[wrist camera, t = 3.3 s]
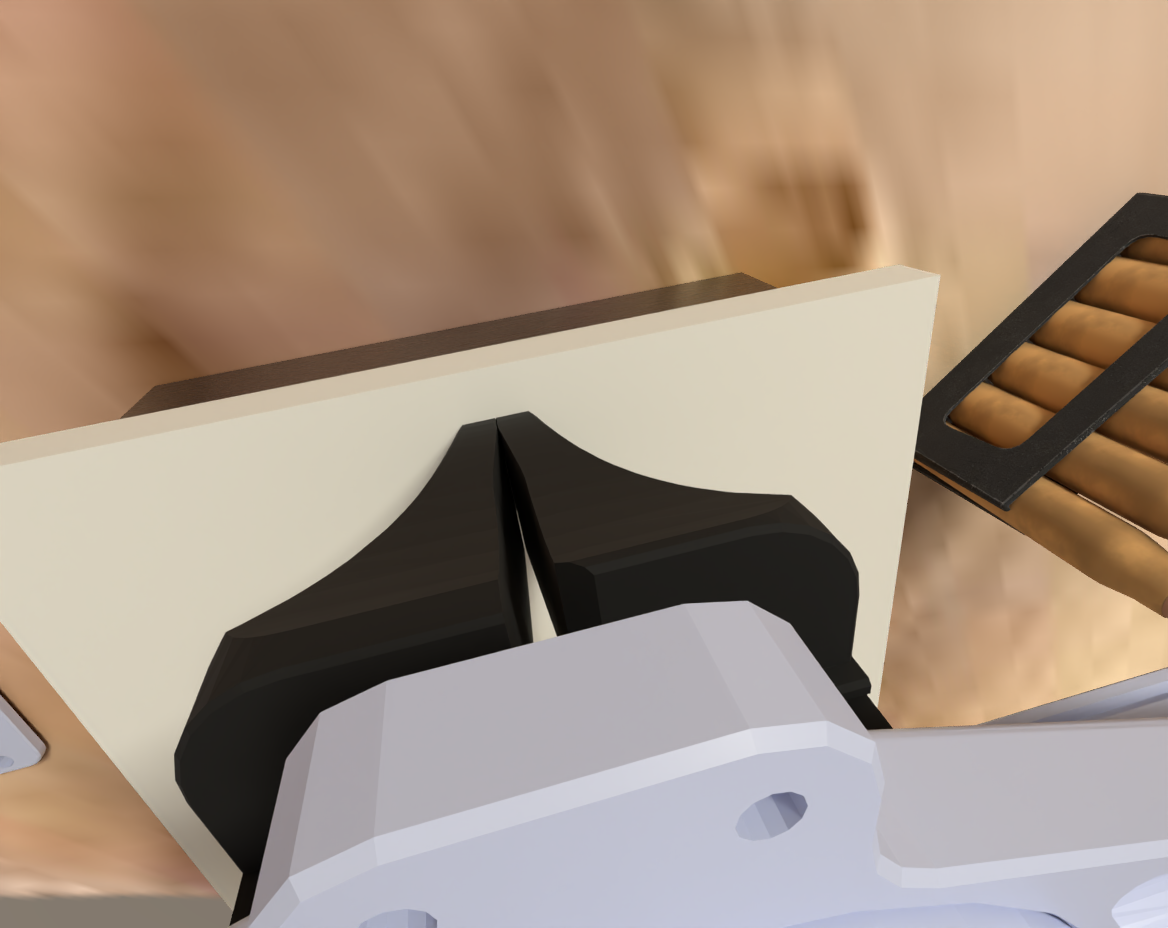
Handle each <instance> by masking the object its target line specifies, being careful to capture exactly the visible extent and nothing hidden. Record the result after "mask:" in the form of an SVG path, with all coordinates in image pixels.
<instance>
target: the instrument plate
mask: <svg viewBox="0 0 1168 928" xmlns="http://www.w3.org/2000/svg"><path fill="white" fill-rule="evenodd" d="M939 282H940V275H938V274H935V273H931V272H927V271H923V270H919V269H915V268H911V267H907V266H903V265H894V266H889V267H884V268H879V269H874V270H869V271H864V272H859V273H854V274H849V275H843V276H838V277H833V278H828V279H823V280H818V281H813V282H808V283H803V284H798V285H793V286H788V287H783V288H778V289H773V290H768V291H763V292H758V293H753V294H748V295H743V296H738V297H733V298H728V299H723V300H718V301H713V302H708V303H703V304H698V305H692V306H687V307H682V308H677V309H672V310H667V311H662V312H657V313H652V314H647V315H642V316H637V317H632V318H627V319H622V320H617V321H612V322H607V323H602V324H597V325H592V326H587V327H582V328H577V329H572V330H567V331H562V332H557V333H552V334H547V335H542V336H536V337H531V338H526V339H521V340H516V341H511V342H506V343H501V344H496V345H491V346H486V347H481V348H476V349H471V350H466V351H461V352H456V353H451V354H446V355H441V356H436V357H431V358H426V359H421V360H416V361H411V362H406V363H401V364H396V365H391V366H386V367H380V368H375V369H370V370H365V371H360V372H355V373H350V374H345V375H340V376H335V377H330V378H325V379H320V380H315V381H310V382H305V383H300V384H295V385H290V386H285V387H280V388H275V389H270V390H265V391H260V392H255V393H250V394H245V395H240V396H235V397H229V398H224V399H219V400H214V401H209V402H204V403H199V404H194V405H189V406H184V407H179V408H174V409H169V410H164V411H159V412H154V413H149V414H144V415H139V416H134V417H129V418H124V419H119V420H114V421H109V422H104V423H99V424H94V425H89V426H84V427H79V428H73V429H68V430H63V431H58V432H53V433H48V434H43V435H38V436H33V437H28V438H23V439H18V440H13V441H8V442H3V443H0V622H1V623H2V624H3V625H4V627H5V628H6V629H7V630H8V632H9V633H10V634H11V635H12V637H13V638H14V639H15V640H16V642H17V643H18V644H19V645H20V647H21V648H22V649H23V650H24V652H25V653H26V654H27V655H28V657H29V658H30V659H31V660H32V662H33V663H34V664H35V665H36V667H37V668H38V669H39V670H40V672H41V673H42V674H43V675H44V677H45V678H46V679H47V680H48V682H49V683H50V684H51V685H52V687H53V688H54V689H55V690H56V692H57V693H58V694H59V695H60V697H61V698H62V699H63V700H64V702H65V703H66V704H67V705H68V707H69V708H70V709H71V710H72V712H73V713H74V714H75V715H76V717H77V718H78V719H79V720H80V722H81V723H82V724H83V725H84V727H85V728H86V729H87V730H88V732H89V733H90V734H91V735H92V737H93V738H94V739H95V740H96V742H97V743H98V744H99V745H100V747H101V748H102V749H103V750H104V752H105V753H106V754H107V755H108V757H109V758H110V759H111V760H112V762H113V763H114V764H115V765H116V767H117V768H118V769H119V770H120V772H121V773H122V774H123V775H124V777H125V778H126V779H127V780H128V782H129V783H130V784H131V785H132V787H133V788H134V789H135V790H136V792H137V793H138V794H139V795H140V797H141V798H142V799H143V800H144V801H145V803H146V804H147V805H148V806H149V808H150V809H151V810H152V811H153V813H154V814H155V815H156V816H157V818H158V819H159V820H160V821H161V823H162V824H163V825H164V826H165V828H166V829H167V830H168V831H169V833H170V834H171V835H172V836H173V838H174V839H175V840H176V841H177V843H178V844H179V845H180V846H181V848H182V849H183V850H184V851H185V853H186V854H187V855H188V856H189V858H190V859H191V860H192V861H193V863H194V864H195V865H196V866H197V868H198V869H199V870H200V871H201V873H202V874H203V875H204V876H205V878H206V879H207V880H208V881H209V883H210V884H211V885H212V886H213V888H214V889H215V890H216V891H217V893H218V894H219V895H220V896H221V898H222V899H223V900H224V901H225V903H226V904H227V905H228V906H229V908H230V909H231V910H232V911H233V910H234V906H235V902H236V898H237V894H238V890H239V886H240V882H241V878H242V874H243V873H242V872H241V871H240V869H239V868H238V867H237V866H236V864H235V863H234V862H233V861H232V859H231V858H230V857H229V856H228V854H227V853H226V852H225V851H224V849H223V848H222V847H221V845H220V844H219V843H218V842H217V840H216V839H215V838H214V837H213V835H212V834H211V833H210V832H209V830H208V829H207V828H206V827H205V825H204V824H203V823H202V821H201V820H200V819H199V818H198V816H197V815H196V814H195V813H194V811H193V810H192V809H191V808H190V806H189V805H188V804H187V802H186V800H185V798H184V796H183V794H182V792H181V790H180V789H179V787H178V785H177V783H176V781H175V768H174V753H175V750H176V748H177V745H178V743H179V740H180V738H181V735H182V733H183V730H184V728H185V725H186V723H187V720H188V718H189V715H190V713H191V710H192V708H193V705H194V703H195V700H196V697H197V695H198V692H199V690H200V687H201V685H202V682H203V680H204V677H205V675H206V672H207V669H208V667H209V665H210V663H211V661H212V659H213V657H214V655H215V652H216V650H217V648H218V646H219V644H220V642H221V640H222V638H223V636H224V634H225V632H227V631H229V630H231V629H233V628H235V627H237V626H239V625H241V624H243V623H245V622H247V621H249V620H250V619H252V618H254V617H256V616H258V615H260V614H262V613H264V612H265V611H267V610H269V609H271V608H273V607H275V606H277V605H279V604H281V603H282V602H284V601H286V600H288V599H290V598H291V597H293V596H295V595H297V594H298V593H300V592H302V591H303V590H305V589H307V588H308V587H310V586H311V585H313V584H314V583H316V582H317V581H319V580H321V579H322V578H324V577H325V576H327V575H328V574H330V573H331V572H333V571H334V570H335V569H337V568H338V567H340V566H341V565H343V564H344V563H345V562H347V561H348V560H350V559H351V558H352V557H353V556H355V555H356V554H357V553H358V552H359V551H361V550H362V549H363V548H364V547H365V546H367V545H368V544H369V543H370V542H372V541H373V540H374V539H375V538H376V537H378V536H379V535H380V534H381V533H382V532H384V531H385V530H386V529H387V528H388V527H389V526H390V525H391V524H392V523H393V522H394V521H395V520H396V519H397V518H398V517H399V516H400V515H401V514H402V513H403V512H404V511H405V510H406V509H407V507H408V506H409V505H410V504H411V503H412V502H413V501H414V500H415V498H416V497H417V496H418V495H419V493H420V492H421V491H422V489H423V488H424V487H425V485H426V484H427V483H428V481H429V480H430V478H431V477H432V475H433V474H434V472H435V471H436V469H437V467H438V466H439V464H440V463H441V461H442V459H443V458H444V456H445V454H446V453H447V451H448V449H449V447H450V446H451V444H452V442H453V440H454V438H455V436H456V434H457V432H458V431H459V429H460V428H461V426H462V425H465V424H469V423H474V422H479V421H483V420H488V419H493V418H495V420H496V425H497V429H498V424H497V419H496V418H497V417H502V416H507V415H511V414H516V413H521V412H525V411H529V412H531V413H532V414H534V415H535V416H537V417H538V418H539V419H540V420H541V421H543V422H544V423H545V424H546V425H548V426H549V427H550V428H552V429H553V430H554V431H555V432H557V433H558V434H560V435H561V436H562V437H564V438H565V439H567V440H568V441H570V442H572V443H573V444H575V445H576V446H578V447H579V448H581V449H583V450H585V451H587V452H589V453H591V454H592V455H594V456H596V457H598V458H600V459H602V460H604V461H607V462H609V463H611V464H614V465H616V466H619V467H621V468H624V469H627V470H629V471H632V472H634V473H637V474H641V475H644V476H647V477H651V478H654V479H658V480H662V481H666V482H670V483H674V484H679V485H684V486H690V487H695V488H702V489H709V490H717V491H725V492H734V493H758V494H783V495H792V496H793V497H794V498H795V499H797V500H798V501H799V502H800V503H801V504H803V505H804V506H805V507H806V508H807V509H808V510H809V511H810V512H812V513H813V514H814V515H815V516H816V517H817V518H818V519H819V520H820V521H821V522H822V523H823V524H824V525H825V526H826V527H827V528H828V529H829V531H830V532H831V533H832V534H833V535H834V536H835V537H836V538H837V539H838V540H839V541H840V542H841V543H842V544H843V545H844V546H845V547H846V548H847V549H848V551H849V552H850V553H851V555H852V558H853V560H854V562H855V565H856V567H857V569H858V572H859V594H860V595H859V603H858V611H857V619H856V627H855V635H854V642H853V650H852V657H853V658H854V659H855V661H856V662H857V663H858V664H859V666H860V667H861V668H862V669H863V671H864V672H865V673H866V674H867V676H868V677H869V680H870V682H871V685H872V687H871V693H870V694H867V696H868V697H869V698H870V699H871V701H872V702H873V703H874V705H875V706H876V707H878V700H879V693H880V686H881V679H882V673H883V666H884V659H885V652H886V645H887V638H888V631H889V625H890V618H891V611H892V604H893V597H894V590H895V583H896V577H897V570H898V563H899V556H900V549H901V542H902V536H903V529H904V522H905V515H906V508H907V501H908V494H909V488H910V481H911V474H912V467H913V460H914V453H915V446H916V440H917V433H918V426H919V419H920V412H921V405H922V398H923V392H924V385H925V378H926V371H927V364H928V357H929V350H930V344H931V337H932V330H933V323H934V316H935V309H936V302H937V296H938V289H939ZM498 434H499V438H500V433H499V429H498ZM500 442H501V438H500ZM501 447H502V451H503V446H502V442H501ZM503 455H504V451H503ZM504 460H505V455H504ZM505 464H506V460H505ZM506 469H507V473H508V468H507V464H506ZM508 477H509V473H508ZM509 482H510V477H509ZM510 486H511V482H510ZM511 491H512V495H513V490H512V486H511ZM513 499H514V495H513ZM514 504H515V499H514ZM515 508H516V504H515ZM516 512H517V508H516ZM517 517H518V512H517ZM518 522H519V526H520V521H519V517H518ZM520 531H521V535H522V540H523V544H524V549H525V558H526V568H527V579H528V589H529V600H530V611H531V621H532V632H533V643H534V642H538V641H542V640H546V639H550V638H554V637H557V635H556V633H555V630H554V627H553V624H552V621H551V619H550V616H549V613H548V610H547V607H546V604H545V602H544V599H543V596H542V593H541V590H540V588H539V585H538V582H537V579H536V576H535V574H534V571H533V568H532V565H531V562H530V560H529V557H528V554H527V551H526V548H525V543H524V539H523V534H522V530H521V526H520Z"/></svg>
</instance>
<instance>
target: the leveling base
mask: <svg viewBox="0 0 1168 928" xmlns="http://www.w3.org/2000/svg"><path fill="white" fill-rule="evenodd" d="M773 289H778V288H776V287H774V286H771V285H769V284H767V283H765V282H762V281H760V280H758V279H756V278H753V277H751V276H749V275H746V274H744V273H737V274H732V275H727V276H721V277H716V278H711V279H706V280H701V281H696V282H690V283H685V284H680V285H675V286H670V287H665V288H659V289H654V290H649V291H644V292H639V293H634V294H628V295H623V296H618V297H613V298H608V299H603V300H597V301H592V302H587V303H582V304H577V305H572V306H566V307H561V308H556V309H551V310H546V311H541V312H535V313H530V314H525V315H520V316H515V317H510V318H504V319H499V320H494V321H489V322H484V323H479V324H473V325H468V326H463V327H458V328H453V329H448V330H442V331H437V332H432V333H427V334H422V335H417V336H411V337H406V338H401V339H396V340H391V341H385V342H380V343H375V344H370V345H365V346H360V347H354V348H349V349H344V350H339V351H334V352H329V353H323V354H318V355H313V356H308V357H303V358H298V359H292V360H287V361H282V362H277V363H272V364H267V365H261V366H256V367H251V368H246V369H241V370H236V371H230V372H225V373H220V374H215V375H210V376H205V377H199V378H194V379H189V380H184V381H179V382H174V383H168V384H163V385H158V386H155V387H153V388H152V389H151V390H150V391H149V392H148V393H147V394H146V395H145V396H144V397H143V398H142V399H141V400H139V401H138V402H137V403H136V404H135V405H134V406H133V407H132V408H131V409H130V410H129V411H128V412H127V413H125V414H124V415H123V416H122V417H121V418H120V419H124V418H129V417H134V416H139V415H144V414H149V413H154V412H159V411H164V410H169V409H174V408H179V407H184V406H189V405H194V404H199V403H204V402H209V401H214V400H219V399H224V398H229V397H235V396H240V395H245V394H250V393H255V392H260V391H265V390H270V389H275V388H280V387H285V386H290V385H295V384H300V383H305V382H310V381H315V380H320V379H325V378H330V377H335V376H340V375H345V374H350V373H355V372H360V371H365V370H370V369H375V368H380V367H386V366H391V365H396V364H401V363H406V362H411V361H416V360H421V359H426V358H431V357H436V356H441V355H446V354H451V353H456V352H461V351H466V350H471V349H476V348H481V347H486V346H491V345H496V344H501V343H506V342H511V341H516V340H521V339H526V338H531V337H536V336H542V335H547V334H552V333H557V332H562V331H567V330H572V329H577V328H582V327H587V326H592V325H597V324H602V323H607V322H612V321H617V320H622V319H627V318H632V317H637V316H642V315H647V314H652V313H657V312H662V311H667V310H672V309H677V308H682V307H687V306H692V305H698V304H703V303H708V302H713V301H718V300H723V299H728V298H733V297H738V296H743V295H748V294H753V293H758V292H763V291H768V290H773Z"/></svg>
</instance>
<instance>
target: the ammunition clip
mask: <svg viewBox="0 0 1168 928" xmlns="http://www.w3.org/2000/svg"><path fill="white" fill-rule="evenodd" d="M977 438H978V439H977ZM979 439H980V440H979ZM981 440H982V441H981ZM1157 459H1158V460H1157ZM1159 460H1160V461H1159ZM1166 463H1167V464H1166ZM912 468H914V469H915V470H917V471H919V472H920V473H922V474H924V475H925V476H927V477H929V478H930V479H932V480H934V481H935V482H937V483H939V484H940V485H942V486H944V487H945V488H947V489H949V490H950V491H952V492H954V493H955V494H957V495H959V496H960V497H962V498H964V499H965V500H967V501H969V502H970V503H972V504H974V505H975V506H977V507H979V508H980V509H982V510H984V511H985V512H987V513H989V514H990V515H992V516H994V517H995V518H997V519H999V520H1000V521H1002V522H1004V523H1005V524H1007V525H1009V526H1010V527H1012V528H1014V529H1015V530H1017V531H1019V532H1020V533H1022V534H1024V535H1026V536H1028V537H1029V538H1031V539H1032V540H1034V541H1035V542H1037V543H1038V544H1040V545H1042V546H1043V547H1045V548H1046V549H1048V550H1049V551H1051V552H1052V553H1054V554H1055V555H1057V556H1058V557H1060V558H1061V559H1063V560H1064V561H1066V562H1067V563H1069V564H1070V565H1072V566H1073V567H1075V568H1076V569H1078V570H1079V571H1081V572H1082V573H1084V574H1085V575H1087V576H1088V577H1090V578H1092V579H1093V580H1095V581H1097V582H1098V583H1100V584H1102V585H1104V586H1106V587H1108V588H1111V589H1113V590H1115V591H1117V592H1120V593H1122V594H1124V595H1127V596H1129V597H1131V598H1133V599H1135V600H1136V601H1138V602H1140V603H1141V604H1143V605H1145V606H1146V607H1148V608H1150V609H1151V610H1153V611H1154V612H1156V613H1158V614H1159V615H1161V616H1163V617H1165V618H1168V552H1167V551H1166V550H1165V549H1164V548H1163V547H1161V546H1160V545H1159V544H1158V543H1157V542H1155V541H1154V540H1153V539H1152V538H1150V537H1149V536H1148V535H1146V534H1145V533H1144V532H1142V531H1141V530H1139V529H1137V528H1136V527H1134V526H1132V525H1130V524H1129V523H1127V522H1125V521H1123V520H1122V519H1120V518H1118V517H1116V516H1114V515H1113V514H1111V513H1109V512H1107V511H1106V510H1104V509H1102V508H1100V507H1098V506H1097V505H1095V504H1093V503H1091V502H1090V501H1088V500H1086V499H1084V498H1082V497H1081V496H1079V495H1077V494H1078V493H1079V494H1081V495H1083V496H1085V497H1086V498H1088V499H1090V500H1092V501H1094V502H1096V503H1098V504H1099V505H1101V506H1103V507H1105V508H1107V509H1109V510H1110V511H1112V512H1114V513H1116V514H1118V515H1120V516H1121V517H1123V518H1125V519H1127V520H1129V521H1131V522H1132V523H1134V524H1136V525H1138V526H1140V527H1142V528H1143V529H1145V530H1147V531H1149V532H1151V533H1153V534H1155V535H1157V536H1159V537H1162V538H1165V539H1167V540H1168V196H1165V195H1157V194H1149V193H1137V194H1136V195H1134V196H1133V197H1132V198H1131V199H1130V200H1129V201H1128V202H1127V203H1126V204H1125V205H1124V206H1123V207H1122V208H1121V209H1120V210H1119V211H1118V212H1117V213H1116V214H1115V215H1114V216H1113V217H1111V218H1110V219H1109V220H1108V221H1107V222H1106V223H1105V224H1104V225H1103V226H1102V227H1101V228H1100V229H1099V230H1098V231H1097V232H1096V233H1095V234H1094V235H1093V236H1092V237H1091V238H1089V239H1088V240H1087V241H1086V242H1085V243H1084V244H1083V245H1082V246H1081V247H1080V248H1079V249H1078V250H1077V251H1076V252H1075V253H1074V254H1073V255H1072V256H1071V257H1070V258H1069V259H1068V260H1066V261H1065V262H1064V263H1063V264H1062V265H1061V266H1060V267H1059V268H1058V269H1057V270H1056V271H1055V272H1054V273H1053V274H1052V275H1051V276H1050V277H1049V278H1048V279H1047V280H1046V281H1045V282H1043V283H1042V284H1041V285H1040V286H1039V287H1038V288H1037V289H1036V290H1035V291H1034V292H1033V293H1032V294H1031V295H1030V296H1029V297H1028V298H1027V299H1026V300H1025V301H1024V302H1023V303H1022V304H1020V305H1019V306H1018V307H1017V308H1016V309H1015V310H1014V311H1013V312H1012V313H1011V314H1010V315H1009V316H1008V317H1007V318H1006V319H1005V320H1004V321H1003V322H1002V323H1001V324H1000V325H998V326H997V327H996V328H995V329H994V330H993V331H992V332H991V333H990V334H989V335H988V336H987V337H986V338H985V339H984V340H983V341H982V342H981V343H980V344H979V345H978V346H977V347H975V348H974V349H973V350H972V351H971V352H970V353H969V354H968V355H967V356H966V357H965V358H964V359H963V360H962V361H961V362H960V363H959V364H958V365H957V366H956V367H955V368H954V369H952V370H951V371H950V372H949V373H948V374H947V375H946V376H945V377H944V378H943V379H942V380H941V381H940V382H939V383H938V384H937V385H936V386H935V387H934V388H933V389H932V390H931V391H929V392H928V393H927V394H926V395H925V396H924V397H923V398H922V405H921V412H920V419H919V426H918V433H917V440H916V446H915V453H914V460H913V467H912Z"/></svg>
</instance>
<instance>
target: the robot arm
mask: <svg viewBox="0 0 1168 928" xmlns="http://www.w3.org/2000/svg"><path fill="white" fill-rule="evenodd" d="M496 419H497V424H498V429H499V433H500V438H501V442H502V446H503V451H504V455H505V460H506V464H507V468H508V473H509V477H510V482H511V486H512V490H513V495H514V499H515V504H516V508H517V512H518V517H519V521H520V526H521V530H522V534H523V539H524V543H525V548H526V551H527V554H528V557H529V560H530V562H531V565H532V568H533V571H534V574H535V576H536V579H537V582H538V585H539V588H540V590H541V593H542V596H543V599H544V602H545V604H546V607H547V610H548V613H549V616H550V619H551V621H552V624H553V627H554V630H555V633H556V635H557V637H554V638H550V639H546V640H542V641H538V642H534V643H533V632H532V621H531V611H530V600H529V589H528V579H527V568H526V558H525V549H524V544H523V540H522V535H521V531H520V526H519V522H518V517H517V512H516V508H515V504H514V499H513V495H512V491H511V486H510V482H509V477H508V473H507V469H506V464H505V460H504V455H503V451H502V447H501V442H500V438H499V434H498V429H497V425H496V420H495V418H493V419H488V420H483V421H479V422H474V423H469V424H465V425H462V426H461V428H460V429H459V431H458V432H457V434H456V436H455V438H454V440H453V442H452V444H451V446H450V447H449V449H448V451H447V453H446V454H445V456H444V458H443V459H442V461H441V463H440V464H439V466H438V467H437V469H436V471H435V472H434V474H433V475H432V477H431V478H430V480H429V481H428V483H427V484H426V485H425V487H424V488H423V489H422V491H421V492H420V493H419V495H418V496H417V497H416V498H415V500H414V501H413V502H412V503H411V504H410V505H409V506H408V507H407V509H406V510H405V511H404V512H403V513H402V514H401V515H400V516H399V517H398V518H397V519H396V520H395V521H394V522H393V523H392V524H391V525H390V526H389V527H388V528H387V529H386V530H385V531H384V532H382V533H381V534H380V535H379V536H378V537H376V538H375V539H374V540H373V541H372V542H370V543H369V544H368V545H367V546H365V547H364V548H363V549H362V550H361V551H359V552H358V553H357V554H356V555H355V556H353V557H352V558H351V559H350V560H348V561H347V562H345V563H344V564H343V565H341V566H340V567H338V568H337V569H335V570H334V571H333V572H331V573H330V574H328V575H327V576H325V577H324V578H322V579H321V580H319V581H317V582H316V583H314V584H313V585H311V586H310V587H308V588H307V589H305V590H303V591H302V592H300V593H298V594H297V595H295V596H293V597H291V598H290V599H288V600H286V601H284V602H282V603H281V604H279V605H277V606H275V607H273V608H271V609H269V610H267V611H265V612H264V613H262V614H260V615H258V616H256V617H254V618H252V619H250V620H249V621H247V622H245V623H243V624H241V625H239V626H237V627H235V628H233V629H231V630H229V631H227V632H225V634H224V636H223V638H222V640H221V642H220V644H219V646H218V648H217V650H216V652H215V655H214V657H213V659H212V661H211V663H210V665H209V667H208V669H207V672H206V675H205V677H204V680H203V682H202V685H201V687H200V690H199V692H198V695H197V697H196V700H195V703H194V705H193V708H192V710H191V713H190V715H189V718H188V720H187V723H186V725H185V728H184V730H183V733H182V735H181V738H180V740H179V743H178V745H177V748H176V750H175V753H174V768H175V781H176V783H177V785H178V787H179V789H180V790H181V792H182V794H183V796H184V798H185V800H186V802H187V804H188V805H189V806H190V808H191V809H192V810H193V811H194V813H195V814H196V815H197V816H198V818H199V819H200V820H201V821H202V823H203V824H204V825H205V827H206V828H207V829H208V830H209V832H210V833H211V834H212V835H213V837H214V838H215V839H216V840H217V842H218V843H219V844H220V845H221V847H222V848H223V849H224V851H225V852H226V853H227V854H228V856H229V857H230V858H231V859H232V861H233V862H234V863H235V864H236V866H237V867H238V868H239V869H240V871H241V872H242V873H243V874H242V878H241V882H240V886H239V890H238V894H237V898H236V902H235V906H234V910H233V914H232V918H231V922H230V926H229V927H227V928H1168V667H1167V668H1163V669H1160V670H1157V671H1154V672H1150V673H1147V674H1144V675H1140V676H1137V677H1134V678H1130V679H1127V680H1124V681H1120V682H1117V683H1114V684H1110V685H1107V686H1104V687H1101V688H1097V689H1094V690H1091V691H1087V692H1084V693H1081V694H1077V695H1074V696H1071V697H1067V698H1064V699H1061V700H1057V701H1054V702H1051V703H1048V704H1044V705H1041V706H1038V707H1034V708H1031V709H1028V710H1024V711H1021V712H1018V713H1014V714H1011V715H1008V716H1005V717H1001V718H998V719H995V720H991V721H988V722H985V723H981V724H978V725H971V726H948V727H925V728H901V729H893V728H892V727H891V726H890V724H889V723H888V722H887V720H886V719H885V718H884V716H883V715H882V714H881V712H880V711H879V710H878V709H877V707H876V706H875V705H874V703H873V702H872V701H871V699H870V698H869V697H868V696H867V694H870V693H871V687H872V685H871V682H870V680H869V677H868V676H867V674H866V673H865V672H864V671H863V669H862V668H861V667H860V666H859V664H858V663H857V662H856V661H855V659H854V658H853V657H852V650H853V642H854V635H855V627H856V619H857V611H858V603H859V595H860V594H859V572H858V569H857V567H856V565H855V562H854V560H853V558H852V555H851V553H850V552H849V551H848V549H847V548H846V547H845V546H844V545H843V544H842V543H841V542H840V541H839V540H838V539H837V538H836V537H835V536H834V535H833V534H832V533H831V532H830V531H829V529H828V528H827V527H826V526H825V525H824V524H823V523H822V522H821V521H820V520H819V519H818V518H817V517H816V516H815V515H814V514H813V513H812V512H810V511H809V510H808V509H807V508H806V507H805V506H804V505H803V504H801V503H800V502H799V501H798V500H797V499H795V498H794V497H793V496H792V495H783V494H758V493H734V492H725V491H717V490H709V489H702V488H695V487H690V486H684V485H679V484H674V483H670V482H666V481H662V480H658V479H654V478H651V477H647V476H644V475H641V474H637V473H634V472H632V471H629V470H627V469H624V468H621V467H619V466H616V465H614V464H611V463H609V462H607V461H604V460H602V459H600V458H598V457H596V456H594V455H592V454H591V453H589V452H587V451H585V450H583V449H581V448H579V447H578V446H576V445H575V444H573V443H572V442H570V441H568V440H567V439H565V438H564V437H562V436H561V435H560V434H558V433H557V432H555V431H554V430H553V429H552V428H550V427H549V426H548V425H546V424H545V423H544V422H543V421H541V420H540V419H539V418H538V417H537V416H535V415H534V414H532V413H531V412H529V411H525V412H521V413H516V414H511V415H507V416H502V417H497V418H496ZM45 751H46V746H45V744H44V743H43V742H42V741H41V740H40V738H39V737H38V736H37V735H36V734H35V733H34V732H33V731H32V730H31V728H30V727H29V726H28V725H27V724H26V723H25V722H24V721H23V720H22V718H21V717H20V716H19V715H18V714H17V713H16V712H15V711H14V709H13V708H12V707H11V706H10V705H9V704H8V703H7V702H6V701H5V699H4V698H3V697H2V696H1V695H0V774H2V773H6V772H10V771H13V770H17V769H21V768H25V767H29V766H32V765H34V764H37V763H38V762H39V761H40V760H41V758H42V756H43V755H44V753H45Z"/></svg>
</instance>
